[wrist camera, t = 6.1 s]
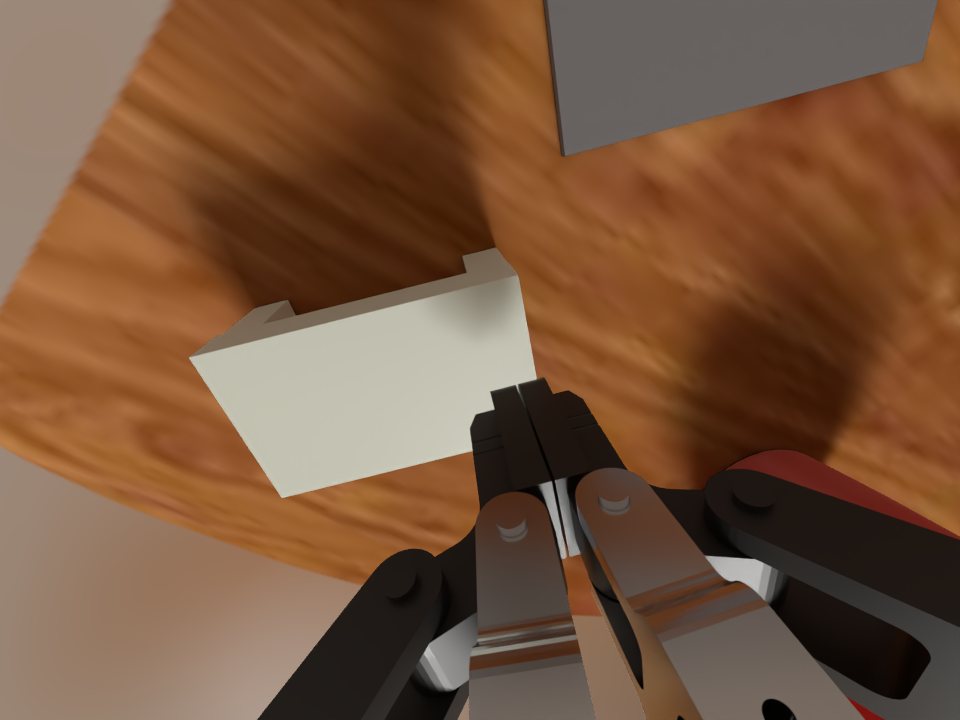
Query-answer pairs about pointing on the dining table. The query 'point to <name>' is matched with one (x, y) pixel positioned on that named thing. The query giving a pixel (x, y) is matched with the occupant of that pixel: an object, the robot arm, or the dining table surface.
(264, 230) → the dining table surface
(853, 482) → the flower pot
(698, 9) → the mat
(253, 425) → the stool
